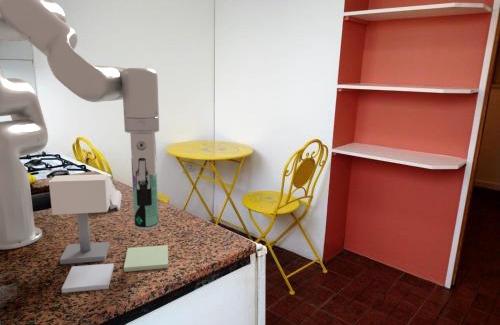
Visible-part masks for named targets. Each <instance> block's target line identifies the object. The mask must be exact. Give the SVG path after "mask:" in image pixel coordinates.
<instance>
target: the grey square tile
mask: <svg viewBox="0 0 500 325" xmlns="http://www.w3.org/2000/svg"><path fill="white" fill-rule="evenodd" d="M114 265H115V264H114V263H112V262H111V263H101V264H88V265H77V266H71V268H70V270H69V272H68V275H67V277H66V279H65V281H64V283H63V285H62V287H61V293H62V294H64V293H74V292H75V293H76V292H77V293H78V292H85V291H97V290H98V291H99V290H106V289H107V290H108V289H109V287H110V284H111V279H112V276H113V271H114V268H115V266H114Z"/></svg>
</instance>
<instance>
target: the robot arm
mask: <svg viewBox="0 0 500 325" xmlns="http://www.w3.org/2000/svg"><path fill="white" fill-rule="evenodd" d="M0 41H6V42H7V41H8V42H21V41H22V42H25V41H28V42H29V43H30V44H31V45H32V46H33V47H35V48H36V49H37V50H38V51H40V52H41V53H42V54H43V55H45V57H46V61H47V63H48V66H49V68H50V71H51V72H52V74H53V76H54V77H55V78H56V80H57V81H58V82H60V84H62V85H63V86H64V87H66V88H67V89H68V90H69V91H70V92H71V93H73V94H74V95H76V96H77V97H78V98H80V99H82V100H85V101H87V102H91V103H99V102H111V101H120V100H122V104H123V108H122V109H123V123H124V127H123V128H124V132H125V133H127V134H129V133H130V151H131V158H132V162H131V167H132V166H133V175H134V176H135V177H137V189H136V190H137V205H138V206H150V205H152V193H151V188H150V175H153V176H155V175H156V170H158V166H157V144H156V143H157V139H156V134H155V133H158V132H160V114H159V108H160V107H159V81H158V80H159V79H158V73H157V71H156V70H155V69H153V68H146V67H145V68H144V67H143V68H141V67H129V68H125V67H120V66H107V65H93V64H92V63H90V62H89V61H87V60H86V59H85V58H84V57H82V56H81V55H80V54H79V53H78V52H77V51H76V50H75V48H76V47H77V43H78V34H77V33H76V31H75V30H74V28H72V27H71V26H70V25H68V24H67V17H66V14H65V12H64V10H63V9H62V7H61V6H60V5H59V4H58V3H57V2H55V1H54V0H0ZM6 116H10V118H11V120H4V121H0V250H12V249H17V248H18V249H19V248H22V247H25V246H28V245H31V244H33V243H36V242H37V241H39V240H40V239H41V238H42V236H43V231H42V229H41V228H39V227H37V226H35V219H34V218H35V217H34V211H33V210H34V209H33V202H32V201H33V200H32V194H31V193H32V192H31V191H32V190H31V185H30V184H31V183H30V176H29V172H28V169H27V168H26V166H25V165H24V164H23V162H21V160H20V158H21V157H24V156H27V155H32V154H35V153H38V152H40V151H43V150H44V149H45V148H46V146H47V145H48V142H49V141H48V140H49V133H48V128H47V124H46V122H45V121H46V120H45V118H44V114H43V110H42V107H41V103H40V100H39V98H38V95H37V92H36V90H35V89H34V88H33V87H32V85H31V84H30V83H29V82H27V81H26V80H23V79H20V78H14V77H13V78H12V77H11V78H10V77H9V78H8V77H7V78H6V77H5V76H4V73H3V72H2V68H1V67H0V117H6ZM141 144H142V146H140V145H141ZM145 159H146V166H145ZM136 171H137V172H136ZM145 173H148V175H145ZM146 178H147V180H146Z"/></svg>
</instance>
